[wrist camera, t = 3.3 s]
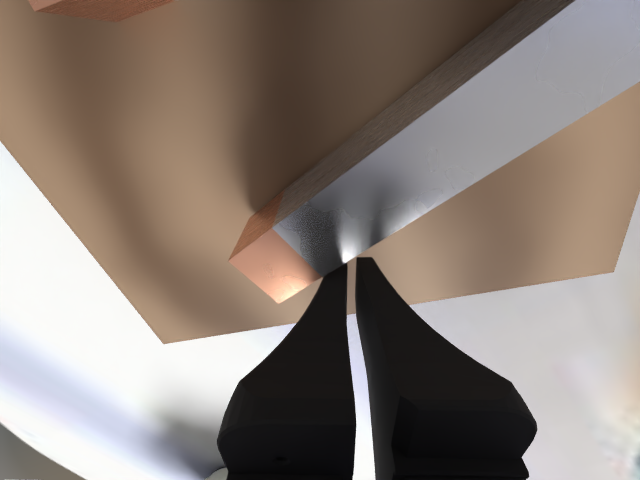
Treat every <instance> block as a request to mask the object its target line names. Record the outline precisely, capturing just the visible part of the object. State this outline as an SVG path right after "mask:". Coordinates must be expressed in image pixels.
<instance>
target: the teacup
mask: <svg viewBox="0 0 640 480" xmlns="http://www.w3.org/2000/svg"><path fill="white" fill-rule="evenodd" d="M227 474H228V470H227V468H221V469H219V470H217V471H215V472H214V473H212V474H211V476H209V477H208V478H206V479H204V480H226V479H227Z"/></svg>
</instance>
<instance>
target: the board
mask: <svg viewBox="0 0 640 480" xmlns="http://www.w3.org/2000/svg"><path fill="white" fill-rule="evenodd" d="M520 1H522V0H176V1H174V2H171V3H168V4H165V5H163V6H160V7H157V8H155V9H152V10H149V11H146V12H144V13H141V14H138V15H135V16H133V17H130V18H127V19H125V20H122V21H119V22H110V21H103V20H95V19H88V18H81V17H73V16H66V15H58V14H51V13H43V12H36V11H34V10H33V8H32V6H31V5H30V3H29V1H28V0H0V141H1V142H2V144H3V145H4V146H5V147H6V149H7V150H8V151H9V152H10V154H11V155H12V156H13V157H14V159H15V160H16V161H17V162H18V163H19V165H20V166H21V167H22V168H23V170H24V171H25V172H26V173H27V175H28V176H29V177H30V178H31V180H32V181H33V182H34V183H35V185H36V186H37V187H38V188H39V190H40V191H41V192H42V193H43V195H44V196H45V197H46V198H47V200H48V201H49V202H50V203H51V205H52V206H53V207H54V208H55V210H56V211H57V212H58V213H59V215H60V216H61V217H62V218H63V220H64V221H65V222H66V223H67V224H68V226H69V227H70V228H71V229H72V231H73V232H74V233H75V234H76V236H77V237H78V238H79V239H80V241H81V242H82V243H83V244H84V246H85V247H86V248H87V249H88V251H89V252H90V253H91V254H92V256H93V257H94V258H95V259H96V261H97V262H98V263H99V264H100V266H101V267H102V268H103V269H104V271H105V272H106V273H107V274H108V276H109V277H110V278H111V279H112V281H113V282H114V283H115V284H116V286H117V287H118V288H119V289H120V290H121V292H122V293H123V294H124V295H125V297H126V298H127V299H128V300H129V302H130V303H131V304H132V305H133V307H134V308H135V309H136V310H137V312H138V313H139V314H140V315H141V317H142V318H143V319H144V320H145V322H146V323H147V324H148V325H149V327H150V328H151V329H152V330H153V332H154V333H155V334H156V335H157V337H158V338H159V339H160V340H161V342H162V343H163V344H167V343H173V342H180V341H186V340H192V339H198V338H205V337H211V336H217V335H223V334H230V333H236V332H242V331H248V330H255V329H261V328H267V327H273V326H280V325H286V324H292V323H297V322H298V321H299V319H300V318H301V317H302V315H303V314H304V312H305V311H306V309H307V307H308V306H309V304H310V302H311V301H312V299H313V297H314V295H315V294H316V292H317V290H318V288H319V286H320V283H321V281H322V279H323V277H324V276H323V277H322V278H320V279H318V280H317V281H315V282H313V283H312V284H310V285H309V286H307V287H305V288H304V289H302V290H300V291H299V292H297V293H296V294H294V295H292V296H291V297H289V298H287V299H286V300H284V301H283V302H281V303H279V304H278V303H277V302H276V301H275V300H274V299H272V298H271V297H270V296H269V295H268V294H266V293H265V292H264V291H263V290H262V289H260V288H259V287H258V286H257V285H256V284H255V283H253V282H252V281H251V280H250V279H249V278H247V277H246V276H245V275H244V274H243V273H242V272H240V271H239V270H238V269H237V268H236V267H234V266H233V265H232V264H231V263H230V262H229V261H228V260H229V258H230V256H231V254H232V252H233V250H234V248H235V246H236V244H237V242H238V240H239V238H240V236H241V234H242V232H243V230H244V228H245V226H246V224H247V222H248V220H249V218H250V217H251V216H252V215H253V214H255V213H256V212H257V211H258V210H260V209H261V208H262V207H263V206H265V205H266V204H267V203H268V202H270V201H271V200H272V199H274V198H275V197H276V196H277V195H279V194H280V193H281V192H282V191H284V190H285V189H286V188H287V187H289V186H290V185H291V184H292V183H294V182H295V181H296V180H297V179H299V178H300V177H301V176H302V175H304V174H305V173H306V172H307V171H309V170H310V169H311V168H312V167H314V166H315V165H316V164H317V163H319V162H320V161H321V160H322V159H324V158H325V157H326V156H327V155H329V154H330V153H331V152H332V151H334V150H335V149H336V148H337V147H339V146H340V145H341V144H342V143H344V142H345V141H346V140H347V139H349V138H350V137H351V136H352V135H354V134H355V133H356V132H357V131H359V130H360V129H361V128H363V127H364V126H365V125H366V124H368V123H369V122H370V121H371V120H373V119H374V118H375V117H376V116H378V115H379V114H380V113H381V112H383V111H384V110H385V109H386V108H388V107H389V106H390V105H391V104H393V103H394V102H395V101H396V100H398V99H399V98H400V97H401V96H403V95H404V94H405V93H406V92H408V91H409V90H410V89H411V88H413V87H414V86H415V85H416V84H418V83H419V82H420V81H421V80H423V79H424V78H425V77H426V76H428V75H429V74H430V73H431V72H433V71H434V70H435V69H436V68H438V67H439V66H440V65H441V64H443V63H444V62H445V61H446V60H448V59H449V58H450V57H452V56H453V55H454V54H455V53H457V52H458V51H459V50H460V49H462V48H463V47H464V46H465V45H467V44H468V43H469V42H470V41H472V40H473V39H474V38H475V37H477V36H478V35H479V34H480V33H482V32H483V31H484V30H485V29H487V28H488V27H489V26H490V25H492V24H493V23H494V22H495V21H497V20H498V19H499V18H500V17H502V16H503V15H504V14H505V13H507V12H508V11H509V10H510V9H512V8H513V7H514V6H515V5H517V4H518V3H519V2H520ZM639 192H640V82H638V83H636V84H635V85H633V86H632V87H630V88H628V89H627V90H625V91H623V92H622V93H620V94H619V95H617V96H615V97H614V98H612V99H610V100H609V101H607V102H606V103H604V104H602V105H601V106H599V107H597V108H596V109H594V110H593V111H591V112H589V113H588V114H586V115H584V116H583V117H581V118H580V119H578V120H576V121H575V122H573V123H572V124H570V125H568V126H567V127H565V128H563V129H562V130H560V131H559V132H557V133H555V134H554V135H552V136H550V137H549V138H547V139H546V140H544V141H542V142H541V143H539V144H537V145H536V146H534V147H533V148H531V149H529V150H528V151H526V152H524V153H523V154H521V155H520V156H518V157H516V158H515V159H513V160H511V161H510V162H508V163H507V164H505V165H503V166H502V167H500V168H498V169H497V170H495V171H494V172H492V173H490V174H489V175H487V176H485V177H484V178H482V179H481V180H479V181H477V182H476V183H474V184H473V185H471V186H469V187H468V188H466V189H464V190H463V191H461V192H460V193H458V194H456V195H455V196H453V197H451V198H450V199H448V200H447V201H445V202H443V203H442V204H440V205H438V206H437V207H435V208H434V209H432V210H430V211H429V212H427V213H425V214H424V215H422V216H421V217H419V218H417V219H416V220H414V221H412V222H411V223H409V224H408V225H406V226H404V227H403V228H401V229H399V230H398V231H396V232H395V233H393V234H391V235H390V236H388V237H386V238H385V239H383V240H382V241H380V242H378V243H377V244H375V245H373V246H372V247H370V248H369V249H367V250H365V251H364V252H362V253H361V254H359V255H357V256H356V257H372V258H373V259H374V260H375V262H376V263H377V265H378V267H379V268H380V270H381V271H382V273H383V274H384V275H385V277H386V278H387V280H388V281H389V282H390V284H391V285H392V286H393V287H394V289H395V290H396V291H397V293H398V294H399V295H400V296H401V297H402V299H403V300H404V301H405V302H406V303H407V304H408V305H411V304H417V303H423V302H430V301H436V300H442V299H448V298H455V297H461V296H467V295H473V294H480V293H486V292H492V291H498V290H505V289H511V288H517V287H524V286H530V285H536V284H542V283H549V282H555V281H561V280H567V279H574V278H580V277H586V276H592V275H599V274H605V273H611V272H614V270H615V267H616V264H617V260H618V257H619V254H620V251H621V248H622V245H623V242H624V238H625V235H626V232H627V229H628V226H629V223H630V220H631V217H632V213H633V210H634V207H635V204H636V201H637V198H638V195H639ZM356 257H354V258H352V259H351V260H349V261H348V262H347V265H348V279H347V315H348V314H355V313H356V305H355V280H356Z"/></svg>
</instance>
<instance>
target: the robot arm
mask: <svg viewBox="0 0 640 480" xmlns="http://www.w3.org/2000/svg"><path fill="white" fill-rule="evenodd" d="M347 279H348V265H347V262H346V263H344V264H343V265H341V266H339V267H338V268H336V269H335V270H333V271H331V272H330V273H328V274H326V275H325V276H324V277H323V279H322V281H321V283H320V286H319V288H318V290H317V292H316V294H315V295H314V297H313V299H312V301H311V302H310V304H309V306H308V307H307V309H306V311H305V312H304V314H303V315H302V317H301V318H300V319H299V321H298V322H297V323H296V325H295V326H294V327H293V329H292V330H291V331H290V332H289V334H288V335H287V336H286V337H285V338H284V339H283V341H282V342H281V343H280V344H279V345H278V346H277V347H276V348H275V349H274V350H273V351H272V352H271V353H270V354H269V355H268V356H267V357H266V358H265V359H264V360H263V361H262V362H261V363H260V364H259V365H258V366H257V367H255V368H254V369H253V370H252V371H251V372H250V373H249V374H247V375H246V376H245V377H244V378H243V379H242V380H240V381H239V383H238V385H237V387H236V389H235V391H234V393H233V395H232V397H231V399H230V402H229V404H228V407H227V409H226V411H225V414H224V417H223V421H222V424H221V428H220V431H219V435H218V439H217V446H218V449H219V452H220V454H221V456H222V459H223V461H224V463H225V465H226V468H227V470H228V474H227V479H226V480H352V476H353V471H354V454H355V437H356V413H355V399H354V391H353V383H352V374H351V366H350V356H349V346H348V336H347V324H346V322H347ZM355 305H356V318H357V324H358V329H359V334H360V340H361V345H362V350H363V356H364V361H365V366H366V373H367V380H368V391H369V402H370V413H371V425H372V437H373V450H374V463H375V477H376V480H526V479H527V478H528V477H529V472H528V470H527V468H526V466H525V464H524V461H523V459H522V456H523V454H524V453H525V451H526V450H527V449H528V447H529V446H530V444H531V443H532V441H533V439H534V437H535V435H536V432H537V424H536V421H535V419H534V418H533V416H532V414H531V412H530V410H529V409H528V407H527V405H526V404H525V402H524V400H523V399H522V397H521V396H520V394H519V393H518V391H517V390H516V389H515V387H514V386H513V384H512V382H510V381H509V380H507V379H505V378H503V377H502V376H500V375H498V374H497V373H495V372H493V371H492V370H490V369H488V368H487V367H485V366H483V365H482V364H480V363H478V362H477V361H475V360H474V359H472V358H471V357H470V356H468V355H467V354H465V353H464V352H462V351H461V350H459V349H458V348H457V347H455V346H454V345H453V344H451V343H450V342H449V341H447V340H446V339H445V338H444V337H442V336H441V335H440V334H439V333H437V332H436V331H435V330H434V329H432V328H431V327H430V326H429V325H428V324H427V323H426V322H425V321H424V320H423V319H422V318H420V317H419V316H418V315H417V314H416V313H415V312H414V311H413V309H412V308H411V307H410V306H409V305H408V304H407V303H406V302H405V301H404V300H403V299H402V297H401V296H400V295H399V294H398V293H397V291H396V290H395V289H394V287H393V286H392V285H391V284H390V282H389V281H388V280H387V278H386V277H385V275H384V274H383V273H382V271H381V270H380V268H379V267H378V265H377V263H376V262H375V260H374V259H373V258H372V257H356V280H355ZM5 480H16V479H5ZM17 480H18V479H17ZM20 480H21V479H20Z"/></svg>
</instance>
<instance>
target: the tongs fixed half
mask: <svg viewBox="0 0 640 480" xmlns="http://www.w3.org/2000/svg"><path fill="white" fill-rule="evenodd" d="M28 1H29V3H30V5H31V6H32V8H33V10H34V11H36V12H43V13H51V14H58V15H66V16H73V17H81V18H88V19H95V20H103V21H110V22H119V21H122V20H125V19H127V18H130V17H133V16H135V15H138V14H141V13H144V12H146V11H149V10H152V9H155V8H157V7H160V6H163V5H165V4H168V3H171V2H174V1H176V0H28Z"/></svg>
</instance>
